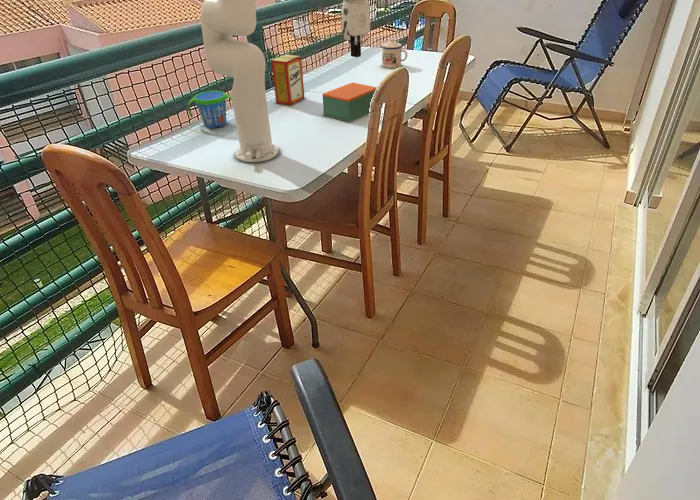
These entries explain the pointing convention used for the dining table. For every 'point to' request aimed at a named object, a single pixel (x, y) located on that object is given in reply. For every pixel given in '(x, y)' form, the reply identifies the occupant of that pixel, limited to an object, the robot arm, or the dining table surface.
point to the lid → (349, 92)
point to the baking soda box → (288, 79)
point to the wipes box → (347, 107)
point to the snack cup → (211, 107)
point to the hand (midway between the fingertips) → (355, 56)
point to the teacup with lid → (392, 54)
